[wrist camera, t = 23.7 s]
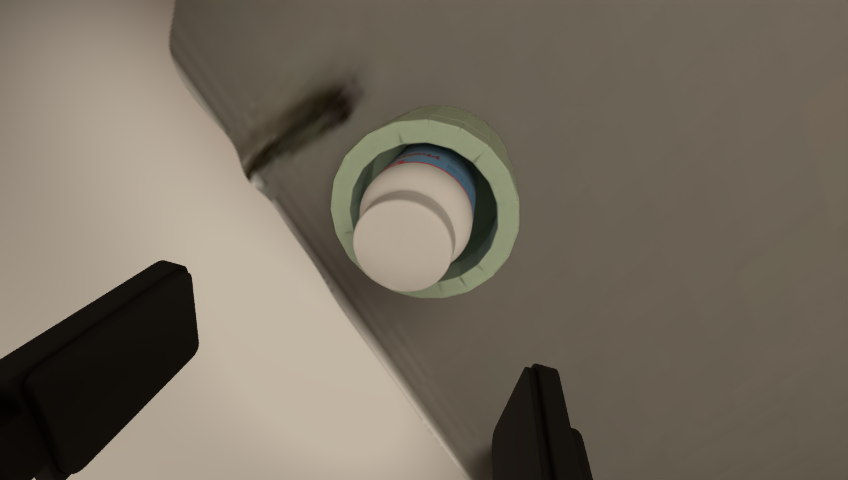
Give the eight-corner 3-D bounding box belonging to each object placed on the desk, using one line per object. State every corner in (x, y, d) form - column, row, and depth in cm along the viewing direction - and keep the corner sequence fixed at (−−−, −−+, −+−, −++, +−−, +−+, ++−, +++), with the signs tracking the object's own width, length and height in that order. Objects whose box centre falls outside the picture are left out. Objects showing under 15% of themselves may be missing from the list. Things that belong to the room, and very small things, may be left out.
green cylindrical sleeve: (381, 88, 25) (342, 96, 18) (532, 127, 24) (549, 149, 18) (360, 225, 30) (323, 272, 23) (487, 260, 29) (486, 317, 22)
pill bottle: (441, 117, 24) (408, 152, 14) (494, 187, 26) (498, 264, 16) (377, 171, 27) (309, 233, 17) (429, 233, 28) (396, 324, 18)
